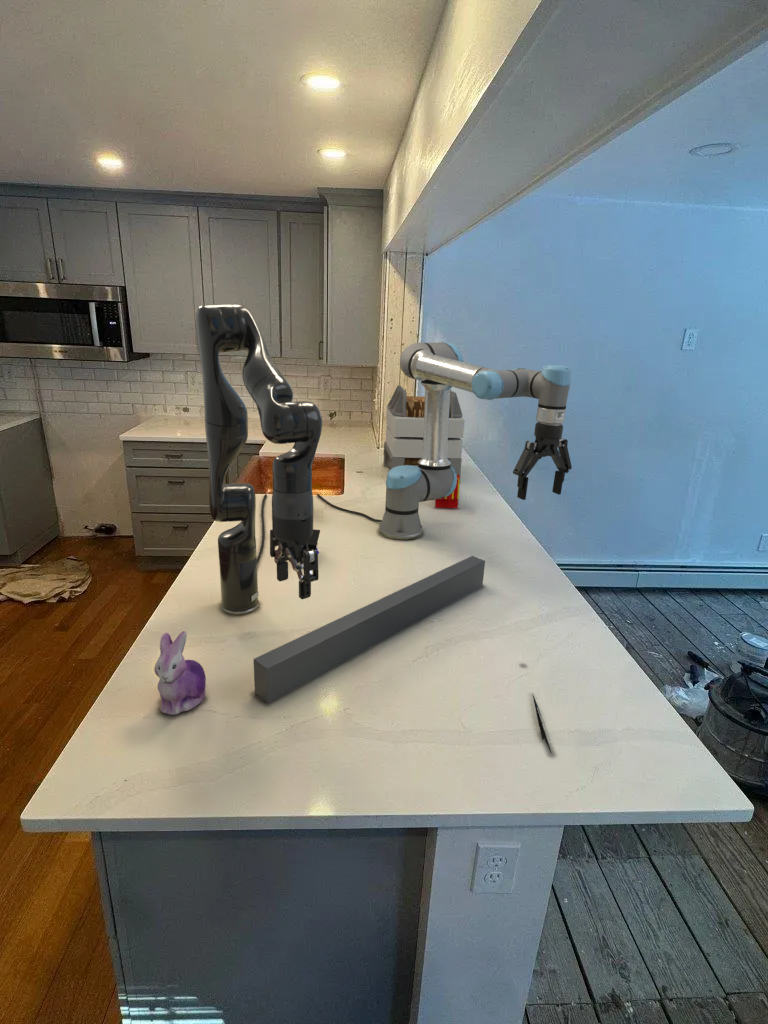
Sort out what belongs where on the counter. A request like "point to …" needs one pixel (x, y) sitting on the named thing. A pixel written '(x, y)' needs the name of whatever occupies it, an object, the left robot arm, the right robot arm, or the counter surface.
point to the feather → (541, 724)
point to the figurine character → (313, 541)
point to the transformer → (418, 430)
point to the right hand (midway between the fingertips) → (539, 495)
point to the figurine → (178, 677)
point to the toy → (449, 498)
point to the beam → (362, 629)
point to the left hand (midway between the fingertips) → (293, 588)
